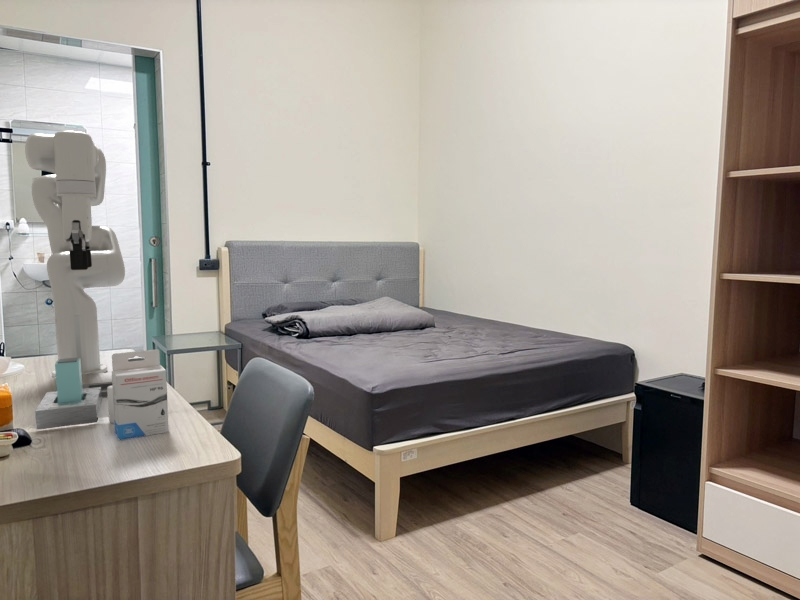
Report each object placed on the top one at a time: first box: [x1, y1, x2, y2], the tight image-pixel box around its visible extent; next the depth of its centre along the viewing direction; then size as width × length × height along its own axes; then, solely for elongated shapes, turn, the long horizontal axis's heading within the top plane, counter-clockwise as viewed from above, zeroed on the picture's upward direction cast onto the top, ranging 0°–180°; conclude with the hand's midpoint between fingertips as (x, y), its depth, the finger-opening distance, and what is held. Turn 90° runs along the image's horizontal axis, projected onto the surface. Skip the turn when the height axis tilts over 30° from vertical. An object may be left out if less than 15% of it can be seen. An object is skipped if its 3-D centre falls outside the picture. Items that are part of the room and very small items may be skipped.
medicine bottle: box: [107, 357, 145, 425], centre depth 112 cm, size 7×7×12 cm
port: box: [34, 387, 103, 430], centre depth 116 cm, size 14×10×4 cm
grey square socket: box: [82, 381, 112, 398], centre depth 130 cm, size 9×9×2 cm
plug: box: [54, 358, 83, 403], centre depth 116 cm, size 4×4×10 cm
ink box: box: [111, 348, 170, 441], centre depth 105 cm, size 8×5×15 cm, turn 123°
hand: (81, 268), depth 129 cm, fingers open, 9 cm apart
